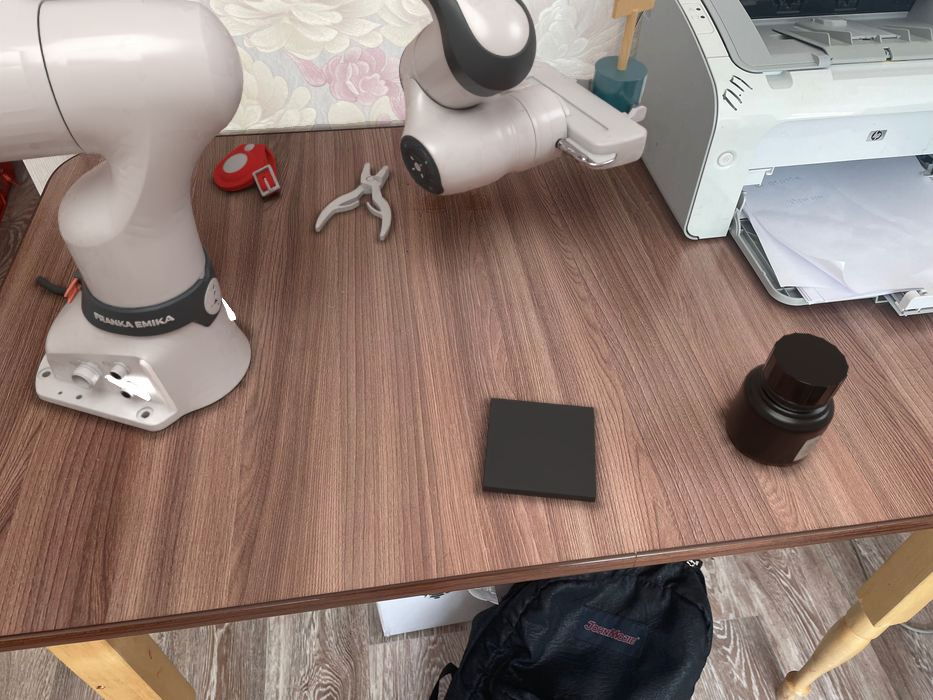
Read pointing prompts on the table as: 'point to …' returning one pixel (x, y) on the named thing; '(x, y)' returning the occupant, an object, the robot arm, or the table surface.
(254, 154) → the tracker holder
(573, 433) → the plate
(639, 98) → the spatula crock
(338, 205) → the pliers
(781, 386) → the ink bottle
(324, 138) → the table surface
